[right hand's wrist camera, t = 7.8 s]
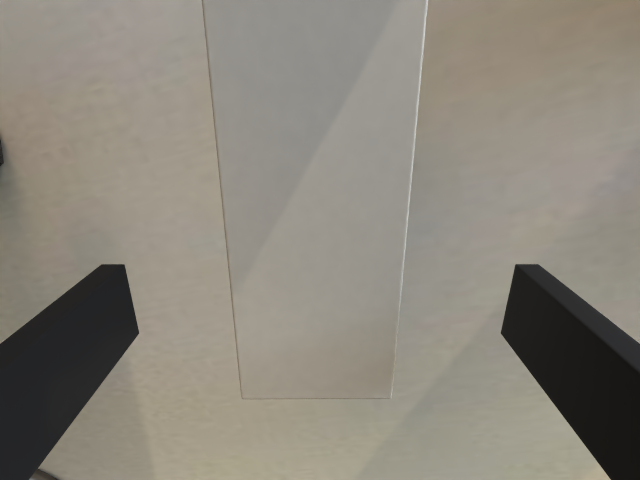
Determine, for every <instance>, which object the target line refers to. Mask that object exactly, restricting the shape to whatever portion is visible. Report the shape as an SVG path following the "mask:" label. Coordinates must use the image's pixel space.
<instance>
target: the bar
mask: <svg viewBox="0 0 640 480" xmlns="http://www.w3.org/2000/svg"><path fill="white" fill-rule="evenodd" d="M427 5H428V0H202V6H203V16H204V27H205V37H206V47H207V57H208V67H209V77H210V87H211V97H212V107H213V117H214V127H215V137H216V147H217V157H218V167H219V177H220V187H221V197H222V207H223V218H224V228H225V238H226V248H227V258H228V268H229V278H230V288H231V298H232V308H233V318H234V328H235V338H236V348H237V358H238V368H239V378H240V388H241V397H242V399H390V398H392V390H393V379H394V368H395V357H396V346H397V335H398V324H399V313H400V302H401V291H402V280H403V269H404V258H405V247H406V236H407V225H408V214H409V203H410V192H411V181H412V170H413V159H414V148H415V137H416V126H417V115H418V104H419V93H420V82H421V71H422V60H423V49H424V38H425V27H426V16H427Z"/></svg>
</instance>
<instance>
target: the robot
mask: <svg viewBox="0 0 640 480" xmlns="http://www.w3.org/2000/svg"><path fill="white" fill-rule="evenodd" d="M2 164H3V155H2V148H1V140H0V166H1V165H2Z"/></svg>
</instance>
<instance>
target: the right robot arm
mask: <svg viewBox="0 0 640 480" xmlns="http://www.w3.org/2000/svg"><path fill="white" fill-rule="evenodd" d="M138 334H139V330H138V326H137V321H136V316H135V311H134V307H133V302H132V297H131V293H130V288H129V283H128V279H127V274H126V269H125V265H124V264H102V265H100V266H99V267H98V268H96V269H95V270H94V271H93V272H91V273H90V274H89V275H88V276H86V277H85V278H84V279H82V280H81V281H80V282H79V283H77V284H76V285H75V286H74V287H72V288H71V289H70V290H68V291H67V292H66V293H65V294H63V295H62V296H61V297H60V298H58V299H57V300H56V301H54V302H53V303H52V304H51V305H49V306H48V307H47V308H46V309H44V310H43V311H42V312H40V313H39V314H38V315H37V316H35V317H34V318H33V319H32V320H30V321H29V322H28V323H26V324H25V325H24V326H23V327H21V328H20V329H19V330H17V331H16V332H15V333H14V334H12V335H11V336H10V337H9V338H7V339H6V340H5V341H3V342H2V343H1V344H0V480H57V479H55V478H54V477H52V476H50V475H48V474H46V473H44V472H42V471H40V470H37V468H38V467H39V466H40V464H41V463H42V462H43V460H44V459H45V458H46V456H47V455H48V454H49V452H50V451H51V450H52V448H53V447H54V446H55V444H56V443H57V442H58V440H59V439H60V438H61V436H62V435H63V434H64V432H65V431H66V430H67V428H68V427H69V426H70V424H71V423H72V422H73V420H74V419H75V418H76V416H77V415H78V414H79V413H80V411H81V410H82V409H83V407H84V406H85V405H86V403H87V402H88V401H89V399H90V398H91V397H92V395H93V394H94V393H95V391H96V390H97V389H98V387H99V386H100V385H101V383H102V382H103V381H104V379H105V378H106V377H107V375H108V374H109V373H110V371H111V370H112V369H113V367H114V366H115V365H116V363H117V362H118V361H119V359H120V358H121V357H122V355H123V354H124V353H125V351H126V350H127V349H128V347H129V346H130V345H131V343H132V342H133V341H134V339H135V338H136V337H137V335H138ZM501 334H502V335H503V337H504V338H505V339H506V341H507V342H508V343H509V345H510V346H511V347H512V349H513V350H514V351H515V353H516V354H517V355H518V357H519V358H520V359H521V361H522V362H523V363H524V365H525V366H526V367H527V369H528V370H529V371H530V373H531V374H532V375H533V377H534V378H535V379H536V381H537V382H538V383H539V385H540V386H541V387H542V389H543V390H544V391H545V393H546V394H547V395H548V397H549V398H550V399H551V401H552V402H553V403H554V405H555V406H556V407H557V409H558V410H559V411H560V413H561V414H562V415H563V417H564V418H565V419H566V420H567V422H568V423H569V424H570V426H571V427H572V428H573V430H574V431H575V432H576V434H577V435H578V436H579V438H580V439H581V440H582V442H583V443H584V444H585V446H586V447H587V448H588V450H589V451H590V452H591V454H592V455H593V456H594V458H595V459H596V460H597V462H598V463H599V464H600V466H601V467H602V468H603V470H604V471H605V472H606V474H607V475H608V476H609V478H610V479H611V480H640V344H639V343H638V342H637V341H635V340H634V339H633V338H631V337H630V336H629V335H628V334H626V333H625V332H624V331H623V330H621V329H620V328H619V327H617V326H616V325H615V324H614V323H612V322H611V321H610V320H608V319H607V318H606V317H605V316H603V315H602V314H601V313H600V312H598V311H597V310H596V309H594V308H593V307H592V306H591V305H589V304H588V303H587V302H586V301H584V300H583V299H582V298H580V297H579V296H578V295H577V294H575V293H574V292H573V291H572V290H570V289H569V288H568V287H566V286H565V285H564V284H563V283H561V282H560V281H559V280H558V279H556V278H555V277H554V276H552V275H551V274H550V273H549V272H547V271H546V270H545V269H544V268H542V267H541V266H540V265H538V264H516V265H515V269H514V274H513V279H512V283H511V288H510V293H509V297H508V302H507V307H506V311H505V316H504V321H503V326H502V330H501Z"/></svg>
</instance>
